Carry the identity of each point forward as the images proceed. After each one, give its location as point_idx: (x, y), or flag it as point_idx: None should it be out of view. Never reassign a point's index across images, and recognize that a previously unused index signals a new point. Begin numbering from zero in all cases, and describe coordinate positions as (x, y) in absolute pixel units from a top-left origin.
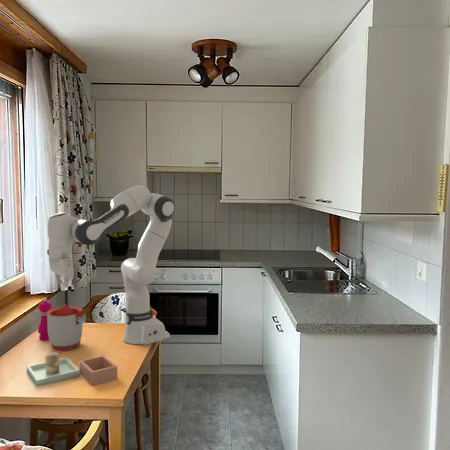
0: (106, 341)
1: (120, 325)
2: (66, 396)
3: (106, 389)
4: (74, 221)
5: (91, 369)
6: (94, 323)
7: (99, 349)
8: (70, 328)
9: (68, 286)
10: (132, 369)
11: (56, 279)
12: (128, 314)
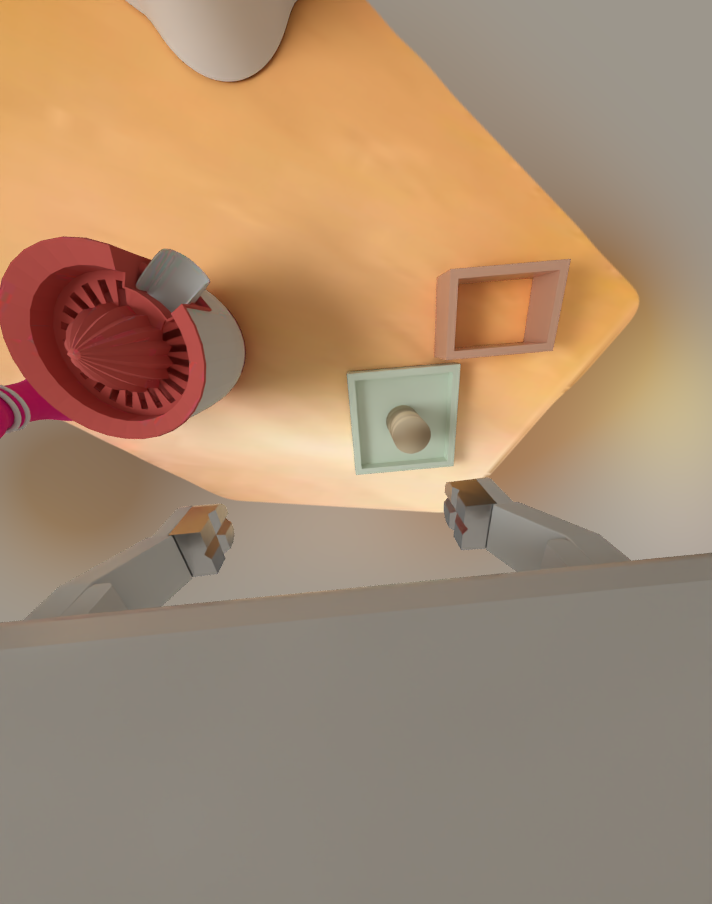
0: (194, 172)
1: None
2: (536, 415)
3: (575, 321)
4: None
5: (532, 345)
6: None
7: (277, 237)
8: (226, 340)
9: (490, 481)
10: (515, 187)
11: (185, 573)
12: None
